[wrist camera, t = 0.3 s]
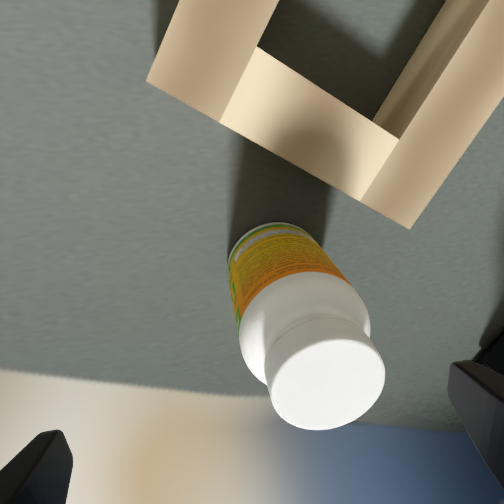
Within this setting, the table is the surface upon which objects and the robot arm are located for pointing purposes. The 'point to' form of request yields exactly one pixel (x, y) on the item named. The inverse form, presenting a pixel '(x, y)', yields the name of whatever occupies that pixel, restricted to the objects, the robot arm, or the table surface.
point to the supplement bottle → (303, 328)
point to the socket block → (334, 111)
